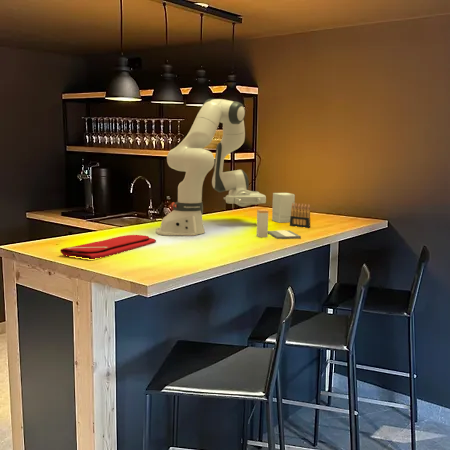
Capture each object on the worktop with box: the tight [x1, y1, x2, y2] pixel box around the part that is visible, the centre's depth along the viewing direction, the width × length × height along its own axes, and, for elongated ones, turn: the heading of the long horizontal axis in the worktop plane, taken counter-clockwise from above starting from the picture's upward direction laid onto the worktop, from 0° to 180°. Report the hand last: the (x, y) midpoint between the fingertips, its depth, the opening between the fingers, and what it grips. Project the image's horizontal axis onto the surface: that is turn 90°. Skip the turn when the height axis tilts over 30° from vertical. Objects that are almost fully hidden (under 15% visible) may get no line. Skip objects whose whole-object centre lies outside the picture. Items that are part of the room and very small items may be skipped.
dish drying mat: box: [60, 234, 157, 259], centre depth 225 cm, size 16×41×4 cm, turn 153°
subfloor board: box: [268, 229, 302, 240], centre depth 262 cm, size 11×15×1 cm
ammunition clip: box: [289, 202, 311, 229], centre depth 287 cm, size 11×2×12 cm, turn 57°
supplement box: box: [271, 192, 296, 224], centre depth 303 cm, size 9×9×15 cm
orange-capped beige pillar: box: [256, 209, 269, 238], centre depth 258 cm, size 4×4×12 cm
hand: (249, 201), depth 278 cm, fingers open, 8 cm apart
